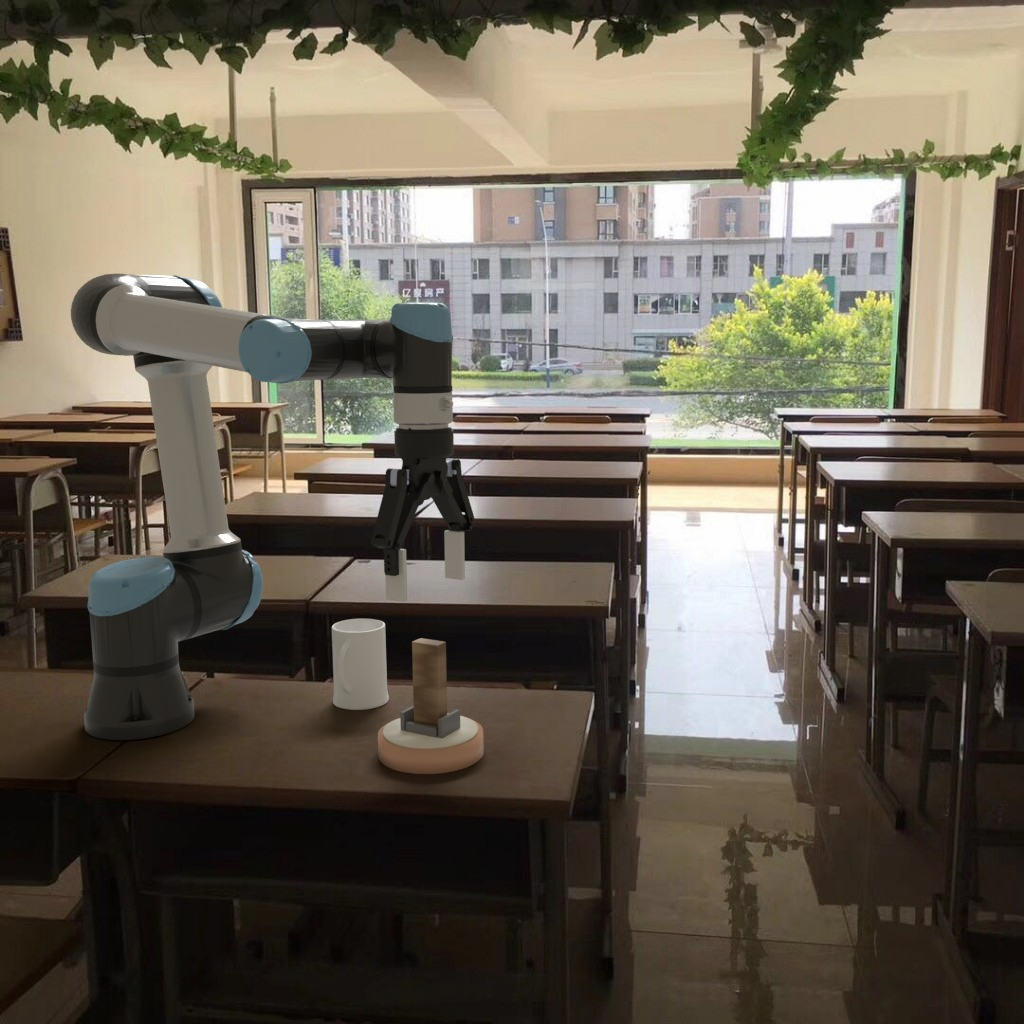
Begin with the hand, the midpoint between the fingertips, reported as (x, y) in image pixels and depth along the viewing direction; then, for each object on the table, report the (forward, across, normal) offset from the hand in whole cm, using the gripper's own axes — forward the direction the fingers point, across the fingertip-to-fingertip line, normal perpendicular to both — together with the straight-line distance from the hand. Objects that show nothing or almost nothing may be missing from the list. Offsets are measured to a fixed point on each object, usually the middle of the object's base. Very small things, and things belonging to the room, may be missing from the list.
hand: (427, 589), depth 140 cm
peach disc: (+22, 0, 0) cm, 23 cm away
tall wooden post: (+19, 0, 0) cm, 19 cm away
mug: (+23, +11, +21) cm, 33 cm away
